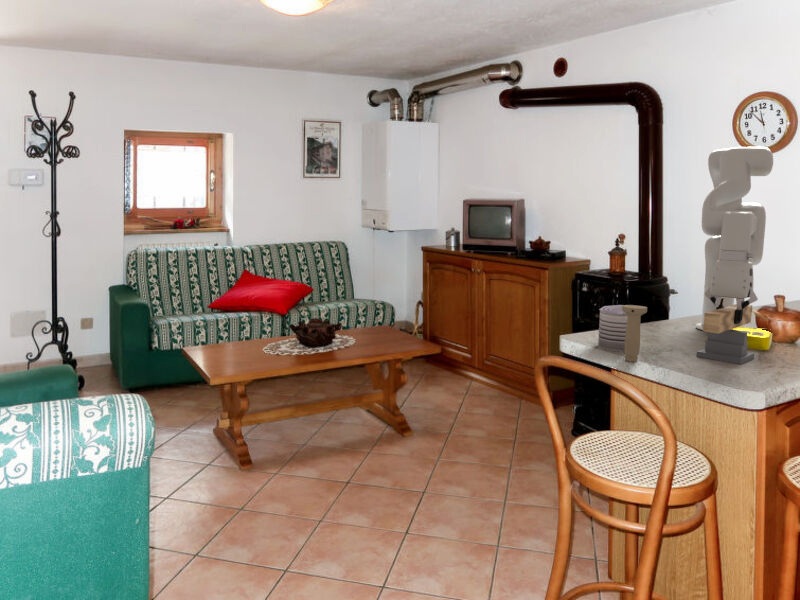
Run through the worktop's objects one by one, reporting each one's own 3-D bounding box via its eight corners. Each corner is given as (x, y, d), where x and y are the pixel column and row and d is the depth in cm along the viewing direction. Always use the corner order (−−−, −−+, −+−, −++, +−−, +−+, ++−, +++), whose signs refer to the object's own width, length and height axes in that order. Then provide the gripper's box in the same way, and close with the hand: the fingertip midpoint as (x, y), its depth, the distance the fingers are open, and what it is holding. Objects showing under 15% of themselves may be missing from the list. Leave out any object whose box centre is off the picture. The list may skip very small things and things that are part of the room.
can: (645, 351, 207) (648, 310, 205) (609, 352, 205) (611, 311, 203) (625, 342, 218) (627, 304, 216) (590, 343, 216) (593, 304, 214)
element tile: (771, 343, 223) (773, 328, 222) (768, 352, 210) (769, 336, 209) (719, 337, 230) (721, 322, 230) (713, 345, 218) (714, 330, 217)
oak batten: (736, 320, 209) (738, 303, 208) (750, 322, 206) (752, 305, 205) (703, 331, 192) (704, 313, 191) (718, 333, 189) (719, 314, 188)
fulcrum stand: (710, 351, 208) (712, 324, 207) (754, 358, 200) (756, 330, 199) (696, 356, 201) (698, 328, 200) (740, 364, 193) (743, 335, 192)
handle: (641, 364, 191) (645, 309, 189) (617, 361, 194) (620, 306, 192) (645, 360, 195) (648, 306, 193) (621, 357, 198) (624, 304, 196)
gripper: (771, 258, 193) (764, 324, 196) (708, 253, 205) (703, 316, 207) (761, 259, 188) (755, 328, 190) (698, 255, 199) (692, 319, 202)
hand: (728, 321), depth 199 cm, fingers closed on oak batten, 4 cm apart
